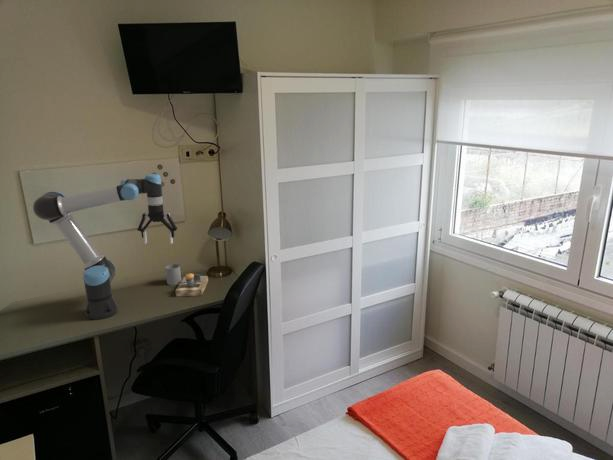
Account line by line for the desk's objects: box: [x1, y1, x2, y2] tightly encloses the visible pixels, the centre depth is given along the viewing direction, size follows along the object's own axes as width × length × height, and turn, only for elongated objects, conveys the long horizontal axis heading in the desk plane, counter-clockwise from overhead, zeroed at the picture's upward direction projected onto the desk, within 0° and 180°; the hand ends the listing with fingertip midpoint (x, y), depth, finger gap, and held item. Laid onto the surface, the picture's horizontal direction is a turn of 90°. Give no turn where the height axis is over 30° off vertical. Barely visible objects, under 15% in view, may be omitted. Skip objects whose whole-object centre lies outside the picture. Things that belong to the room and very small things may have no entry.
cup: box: [164, 263, 182, 286], centre depth 267 cm, size 8×8×10 cm
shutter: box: [181, 273, 205, 283], centre depth 260 cm, size 12×7×3 cm, turn 92°
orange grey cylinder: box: [184, 272, 195, 288], centre depth 253 cm, size 5×5×10 cm
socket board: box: [175, 275, 209, 297], centre depth 258 cm, size 14×20×4 cm
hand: (158, 243), depth 242 cm, fingers open, 13 cm apart
